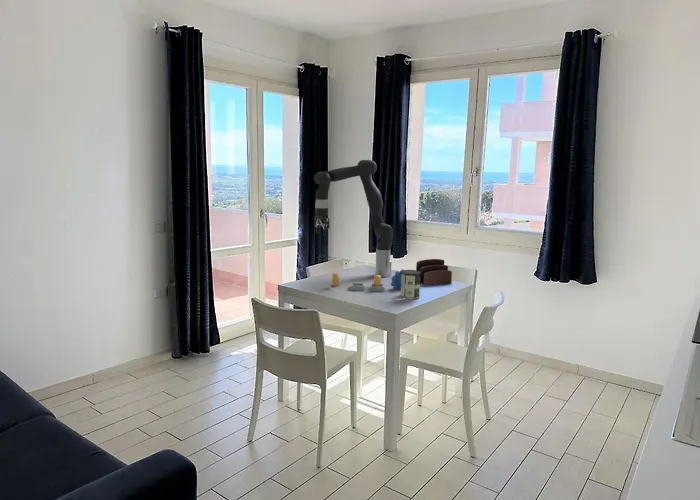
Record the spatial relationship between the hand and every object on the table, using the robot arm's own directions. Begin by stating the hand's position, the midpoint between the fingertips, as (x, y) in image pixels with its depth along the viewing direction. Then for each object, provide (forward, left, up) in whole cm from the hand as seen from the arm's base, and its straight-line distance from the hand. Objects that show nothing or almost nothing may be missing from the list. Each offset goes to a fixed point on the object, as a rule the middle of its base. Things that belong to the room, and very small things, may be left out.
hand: (321, 234), depth 300 cm
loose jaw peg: (-3, +13, -29) cm, 32 cm away
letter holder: (-62, +29, -30) cm, 75 cm away
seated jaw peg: (-19, +31, -28) cm, 46 cm away
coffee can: (-29, +49, -29) cm, 64 cm away
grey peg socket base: (-15, +28, -29) cm, 43 cm away
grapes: (-33, +34, -29) cm, 55 cm away
